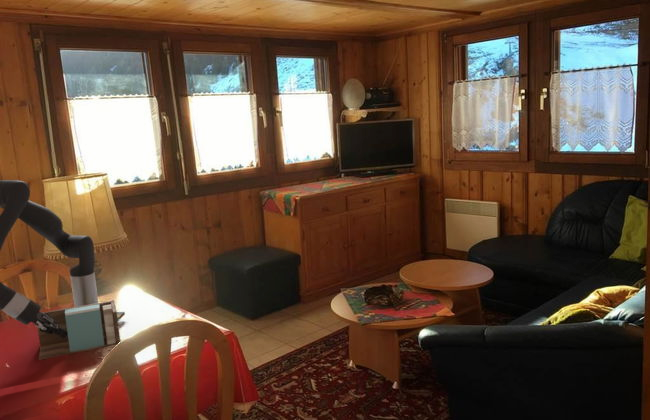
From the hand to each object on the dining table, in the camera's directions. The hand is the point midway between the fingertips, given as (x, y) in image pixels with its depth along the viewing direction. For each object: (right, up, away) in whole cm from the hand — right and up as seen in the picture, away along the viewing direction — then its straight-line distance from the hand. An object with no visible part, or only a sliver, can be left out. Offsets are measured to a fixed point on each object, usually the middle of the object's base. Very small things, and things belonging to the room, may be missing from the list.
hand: (66, 335), depth 191 cm
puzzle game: (-1, -3, +25) cm, 26 cm away
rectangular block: (+6, -5, +3) cm, 8 cm away
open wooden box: (+3, -6, +6) cm, 8 cm away
